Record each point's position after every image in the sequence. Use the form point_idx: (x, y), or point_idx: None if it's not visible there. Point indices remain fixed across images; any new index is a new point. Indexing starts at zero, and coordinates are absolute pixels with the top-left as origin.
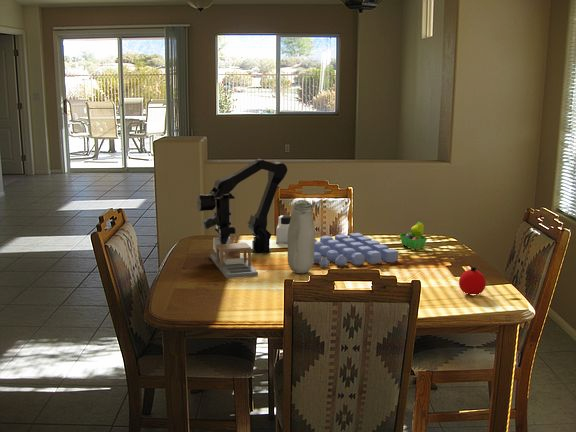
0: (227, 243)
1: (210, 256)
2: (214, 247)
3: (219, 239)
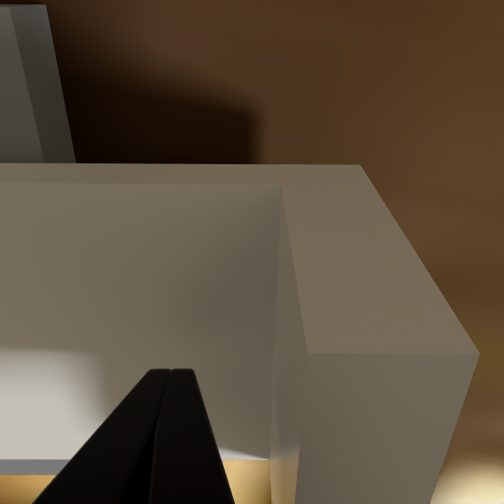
0: (273, 493)
1: (13, 5)
2: (281, 201)
3: (291, 477)
